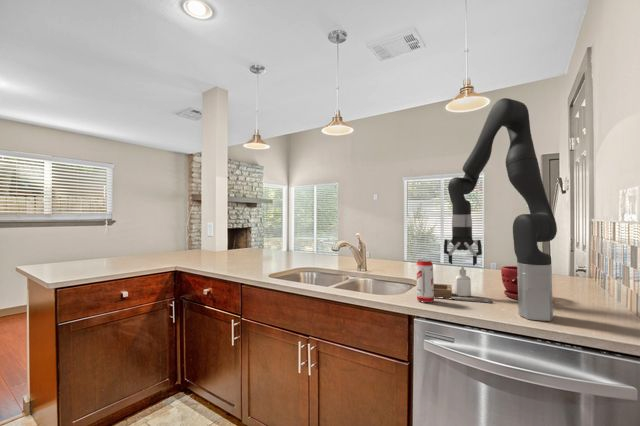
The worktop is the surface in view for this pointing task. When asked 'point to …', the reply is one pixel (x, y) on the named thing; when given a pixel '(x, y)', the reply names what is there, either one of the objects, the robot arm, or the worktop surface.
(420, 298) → the beer can
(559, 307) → the worktop surface
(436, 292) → the hammer
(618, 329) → the worktop surface
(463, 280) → the eye dropper bottle
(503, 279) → the plant pot
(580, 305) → the worktop surface
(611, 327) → the worktop surface
